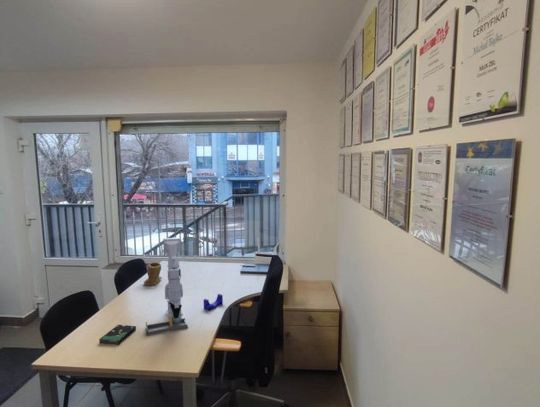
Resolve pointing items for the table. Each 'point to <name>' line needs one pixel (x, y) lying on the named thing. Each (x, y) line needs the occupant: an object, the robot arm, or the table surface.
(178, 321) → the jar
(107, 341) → the disk drive
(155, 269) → the brown boot
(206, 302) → the cable clip
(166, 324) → the tray
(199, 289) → the table surface
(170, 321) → the bar
